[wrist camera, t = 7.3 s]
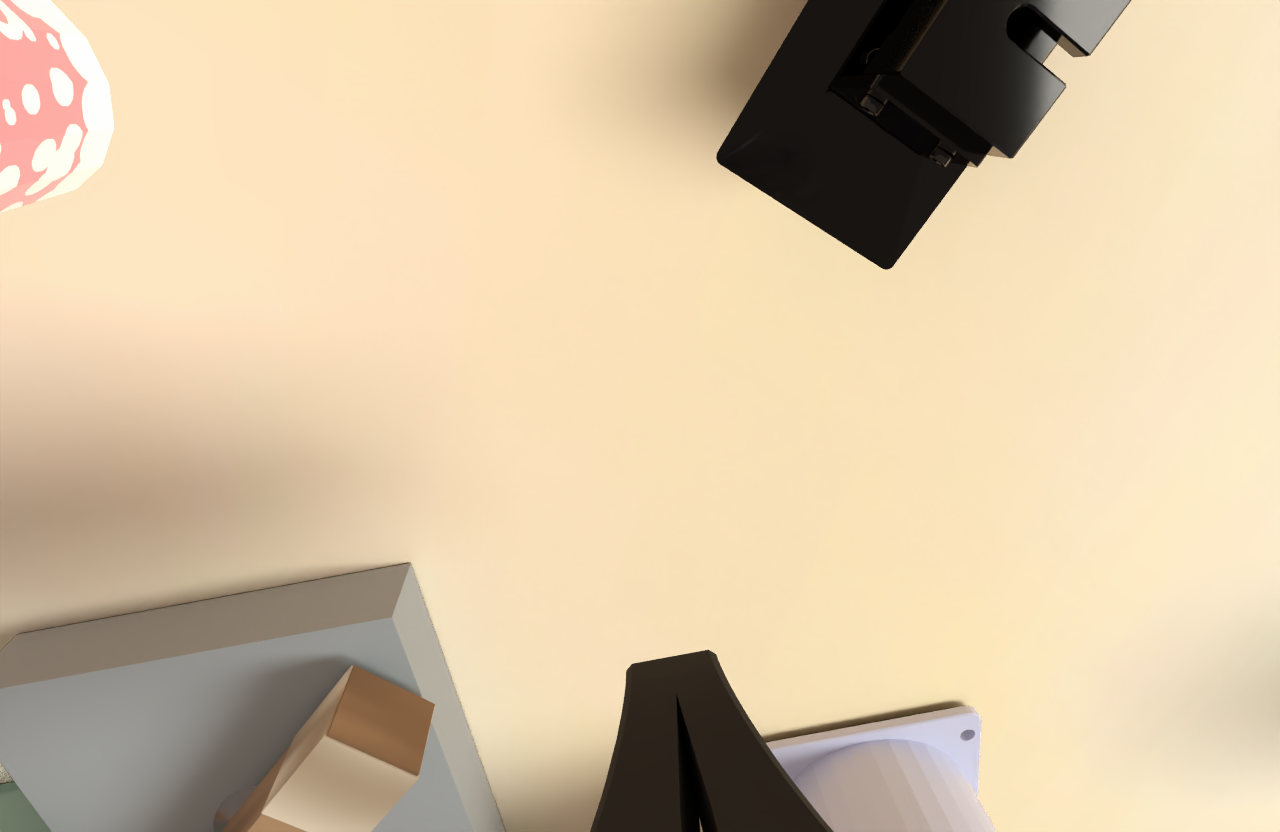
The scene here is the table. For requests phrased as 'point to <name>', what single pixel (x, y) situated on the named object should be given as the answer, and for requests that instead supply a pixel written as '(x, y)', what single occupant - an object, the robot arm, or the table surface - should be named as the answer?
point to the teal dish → (18, 811)
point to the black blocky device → (901, 106)
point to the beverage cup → (48, 104)
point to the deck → (224, 705)
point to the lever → (343, 761)
